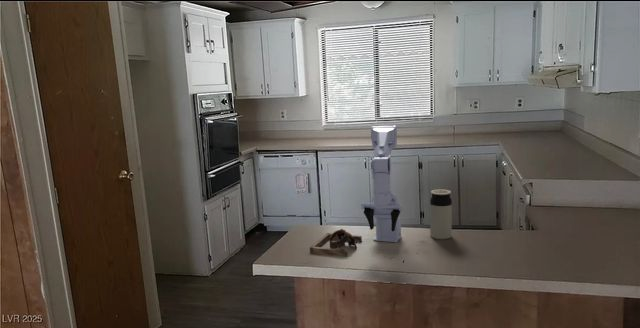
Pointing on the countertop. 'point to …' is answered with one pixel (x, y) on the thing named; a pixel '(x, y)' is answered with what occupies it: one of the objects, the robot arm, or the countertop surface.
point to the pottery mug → (342, 239)
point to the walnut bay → (329, 251)
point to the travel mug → (440, 214)
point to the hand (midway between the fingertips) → (382, 229)
